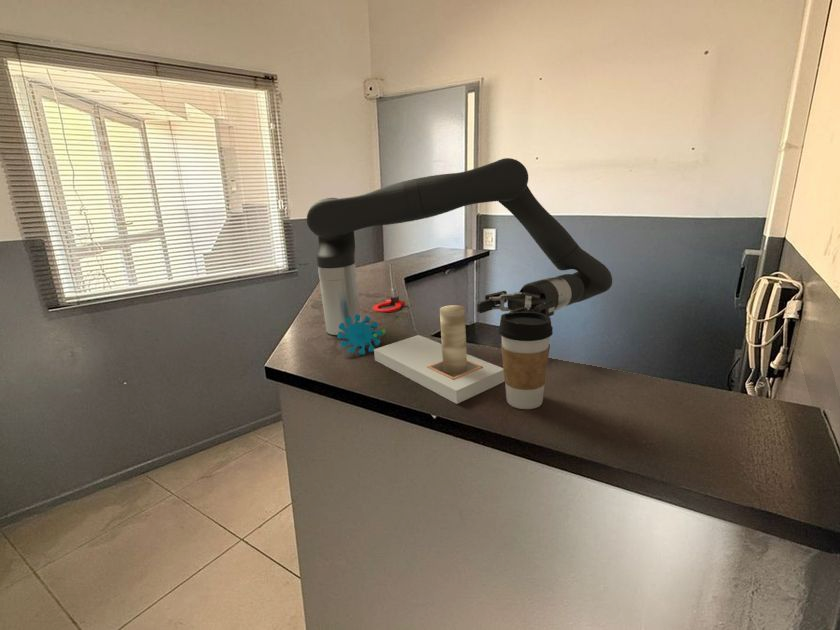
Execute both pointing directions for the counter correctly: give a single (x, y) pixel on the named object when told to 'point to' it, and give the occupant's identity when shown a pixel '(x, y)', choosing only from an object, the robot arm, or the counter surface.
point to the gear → (360, 334)
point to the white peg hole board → (438, 368)
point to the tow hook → (394, 297)
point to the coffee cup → (525, 356)
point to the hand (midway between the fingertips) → (493, 312)
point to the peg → (453, 340)
